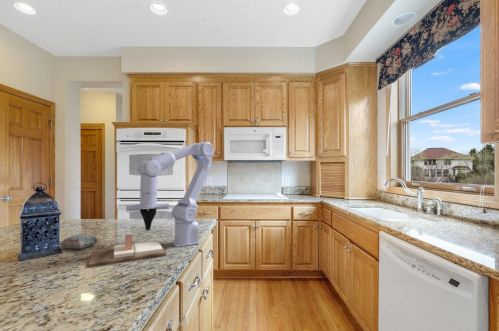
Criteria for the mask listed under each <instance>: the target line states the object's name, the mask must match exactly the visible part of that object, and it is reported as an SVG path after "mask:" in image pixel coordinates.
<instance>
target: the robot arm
mask: <svg viewBox="0 0 499 331" xmlns="http://www.w3.org/2000/svg"><path fill="white" fill-rule="evenodd" d="M214 154H215V150H214V146H213V144H212V143H211V142H209V141H204V142H195V143H192V144H188V145H186V146H184V147H182V148H180V149H178V150H176V151H174V152H172V153H171V152H168V151H167V152H166V151H162V152H160V154H159V155H157V156H155V157H154V156H152V157H150V158H149V160H144V161H142V162H140V164H139V165H138V167H137V171H138V173H139V175H140V185H139V186H140V187H139V188H140V189H139V190H140V191H139V204H131V205H130V204H129V205H126V206H125V208H126V209H125V211H126V212H127V213H128V212H135V211H138V212H140V214H141V217H142V219H143V222H144V229H145V231H150V230H151V227H152V222H153V220H154V218H155V217H156V215H157V210H169V209H170V204H169V203H157V201H158V199H157V198H158V175H159V174H160V173H161V172H162V171H165V170H166V169H168V168H171V167H172V166H174V165H175V163H176V161H178V160H181V159H183V158H185V157H187V156H192V158H193V159H194V161H195V162H196V163H197V167H196V169H195V172H194V174H193V175H192V178H191V181H190V183H189V184H188V187H187V189H186V190H185V191H186V192H185V193H184V196H183V197H182V198H181V199H180V200H178V202H177V203H176V204H175V206H173V208H172V209H171V216H172V218H173V219H174V240H171V243H172V244H173V245H174V247H176V248H178V247H184V246H194V245H199V244H200V242H199V241H200V240H199V239H200V238H199V236H200V235H199V231H200V228H199V223H198V221H196V220H195V219H196V217H197V210H198V208H199V206H198V203H197V200H198V197H199V196H200V193H201V191H202V188H203V187H204V186H203V185H204V183H205V182H206V179H207V177H208V174H209V173H210V170H211V167H212V163H213V162H212V161H213V156H214Z"/></svg>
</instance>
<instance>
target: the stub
mask: <svg viewBox="0 0 499 331" xmlns="http://www.w3.org/2000/svg"><path fill="white" fill-rule="evenodd" d="M124 238H125V240H124V241H125V242H124V244H117V245H113V248H114V258H121V257H128V256H134V249H133V236H132V234H125V237H124Z"/></svg>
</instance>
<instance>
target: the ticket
mask: <svg viewBox="0 0 499 331" xmlns="http://www.w3.org/2000/svg"><path fill="white" fill-rule="evenodd" d="M160 243H161V242H159V240H155V241H154V240H153V241H145V242H136V243H132V245H133V249H134V254H135V256H139V255H146V254H153V253H160V252H163V248H164V247H163V246H162V247H163V248H162V247H161V245H162V244H161V245H160Z"/></svg>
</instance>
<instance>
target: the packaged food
mask: <svg viewBox="0 0 499 331" xmlns="http://www.w3.org/2000/svg"><path fill="white" fill-rule="evenodd" d="M98 242H100V239H99V238H98V237H96V236H95V235H93V234H83V233H82V234H81V233H79V234H78V233H77V234H72V235H70V236H68V237H66V238H64V239H63V240H62V241H60V242H59V243H60V246H59V247H61V248H63V249H71V250H82V249H87V248H89V247H92V246H94V245H96V244H97V243H98Z"/></svg>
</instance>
